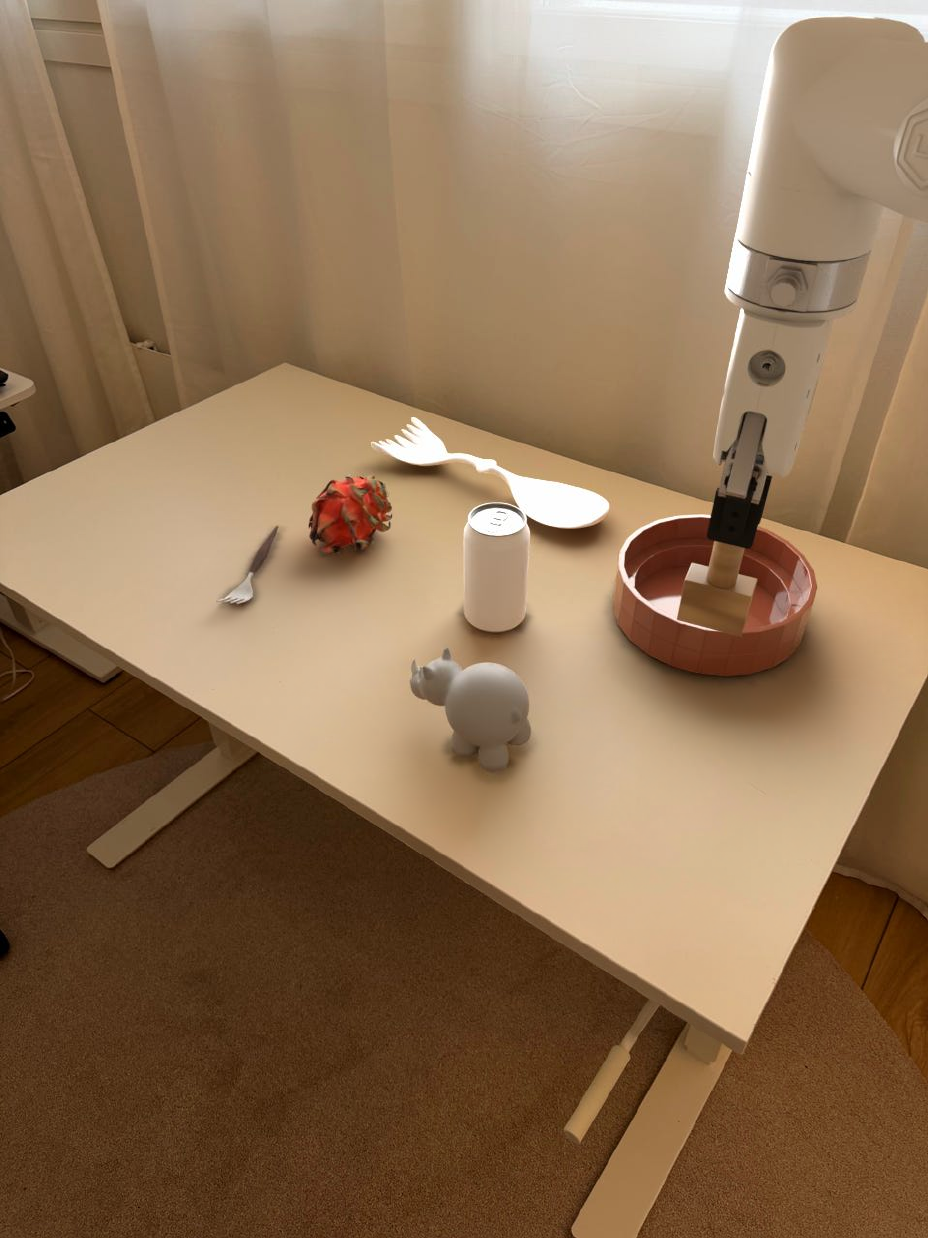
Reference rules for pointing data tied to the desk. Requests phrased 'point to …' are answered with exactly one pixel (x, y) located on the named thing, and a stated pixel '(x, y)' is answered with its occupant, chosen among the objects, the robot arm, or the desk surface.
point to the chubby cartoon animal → (477, 706)
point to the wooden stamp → (718, 591)
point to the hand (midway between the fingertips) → (733, 529)
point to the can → (495, 567)
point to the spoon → (531, 495)
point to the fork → (251, 574)
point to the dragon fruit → (349, 513)
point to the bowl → (650, 622)
